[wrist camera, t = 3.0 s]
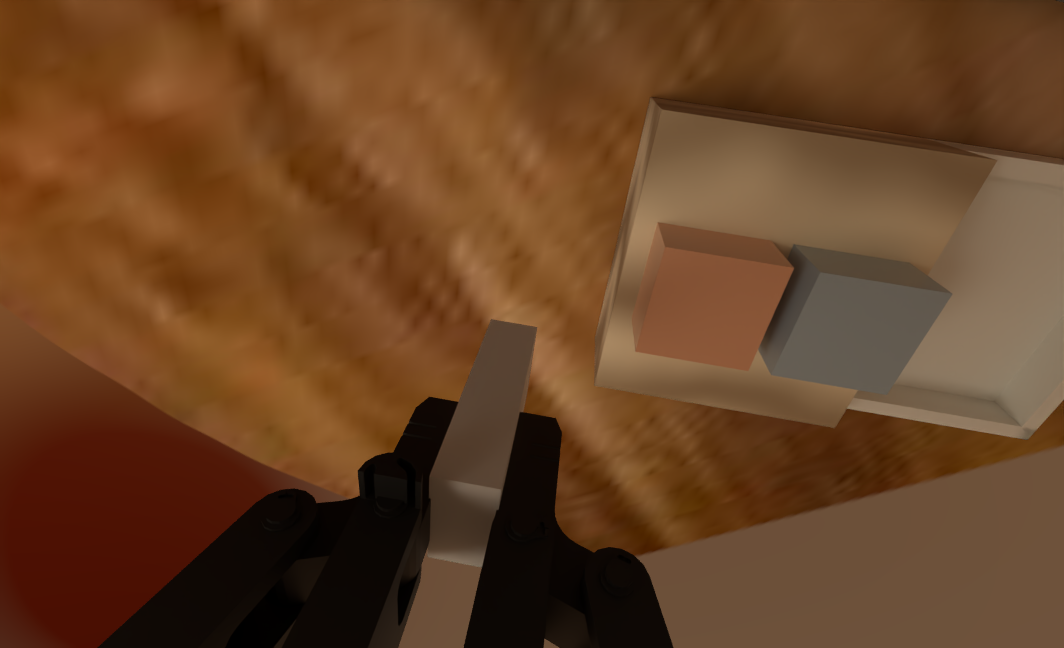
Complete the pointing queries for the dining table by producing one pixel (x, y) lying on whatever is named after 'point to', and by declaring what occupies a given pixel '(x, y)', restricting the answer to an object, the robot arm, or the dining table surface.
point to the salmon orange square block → (708, 296)
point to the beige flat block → (773, 228)
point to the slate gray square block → (850, 319)
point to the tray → (993, 309)
